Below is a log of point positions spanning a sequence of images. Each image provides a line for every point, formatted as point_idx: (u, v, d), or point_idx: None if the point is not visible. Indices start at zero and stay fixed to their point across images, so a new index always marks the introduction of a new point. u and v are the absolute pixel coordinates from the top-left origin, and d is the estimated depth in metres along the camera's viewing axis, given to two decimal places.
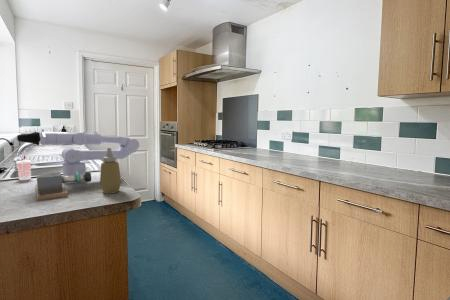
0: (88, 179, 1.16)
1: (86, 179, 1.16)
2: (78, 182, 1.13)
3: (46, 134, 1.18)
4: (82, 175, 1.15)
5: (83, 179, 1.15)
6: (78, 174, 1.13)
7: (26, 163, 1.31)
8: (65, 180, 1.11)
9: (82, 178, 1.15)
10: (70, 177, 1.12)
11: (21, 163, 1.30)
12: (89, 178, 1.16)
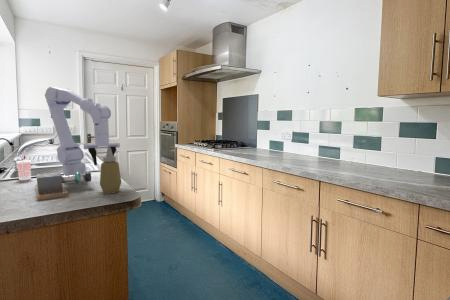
0: (88, 179, 1.16)
1: (86, 179, 1.16)
2: (78, 182, 1.13)
3: (108, 142, 1.19)
4: (82, 175, 1.15)
5: (83, 179, 1.15)
6: (78, 174, 1.13)
7: (26, 163, 1.31)
8: (65, 180, 1.11)
9: (82, 178, 1.15)
10: (70, 177, 1.12)
11: (21, 163, 1.30)
12: (89, 178, 1.16)
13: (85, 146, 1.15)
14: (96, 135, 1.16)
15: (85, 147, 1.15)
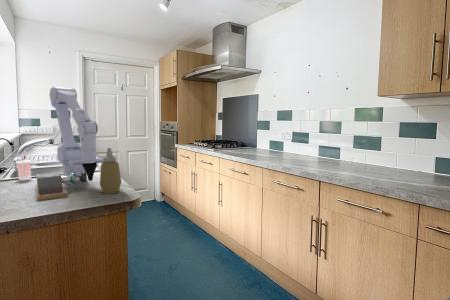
0: (83, 180, 1.15)
1: (82, 180, 1.15)
2: (73, 183, 1.12)
3: (95, 157, 1.17)
4: (78, 175, 1.14)
5: (79, 180, 1.14)
6: (73, 174, 1.12)
7: (26, 163, 1.31)
8: None
9: (78, 179, 1.14)
10: (65, 178, 1.11)
11: (21, 163, 1.30)
12: (85, 179, 1.15)
13: (71, 162, 1.12)
14: (83, 151, 1.14)
15: (71, 163, 1.12)
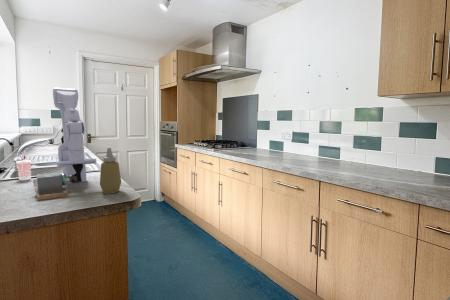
0: (74, 181, 1.13)
1: (72, 181, 1.12)
2: (63, 184, 1.10)
3: (83, 158, 1.14)
4: (68, 177, 1.12)
5: (69, 181, 1.12)
6: (63, 176, 1.10)
7: (26, 163, 1.31)
8: None
9: (68, 180, 1.11)
10: None
11: (21, 163, 1.30)
12: (75, 180, 1.13)
13: (58, 164, 1.09)
14: (70, 152, 1.11)
15: (58, 165, 1.09)
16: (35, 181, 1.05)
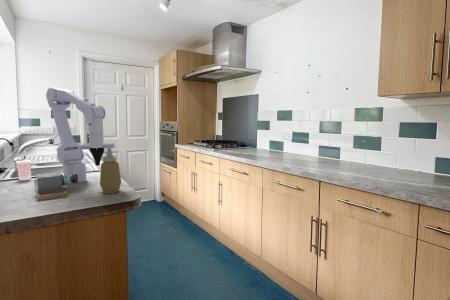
0: (75, 181, 1.13)
1: (73, 181, 1.13)
2: (64, 184, 1.10)
3: (102, 142, 1.17)
4: (69, 176, 1.12)
5: (70, 181, 1.12)
6: (64, 175, 1.10)
7: (26, 163, 1.31)
8: None
9: (68, 180, 1.12)
10: None
11: (21, 163, 1.30)
12: (76, 180, 1.13)
13: (79, 147, 1.12)
14: (90, 135, 1.14)
15: (79, 148, 1.12)
16: (36, 181, 1.05)
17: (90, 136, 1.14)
